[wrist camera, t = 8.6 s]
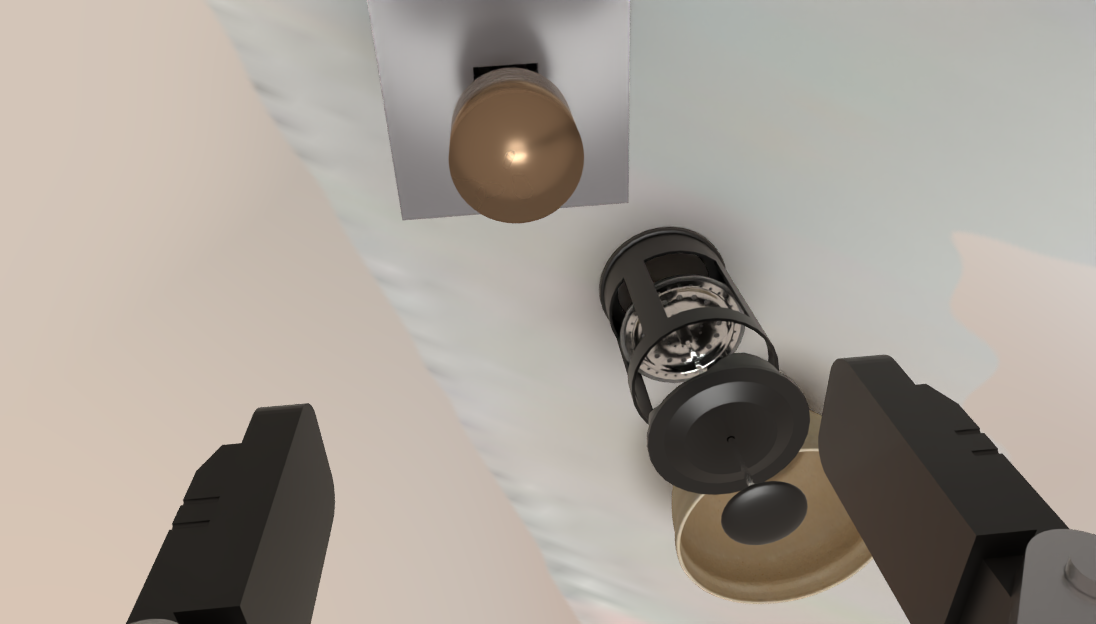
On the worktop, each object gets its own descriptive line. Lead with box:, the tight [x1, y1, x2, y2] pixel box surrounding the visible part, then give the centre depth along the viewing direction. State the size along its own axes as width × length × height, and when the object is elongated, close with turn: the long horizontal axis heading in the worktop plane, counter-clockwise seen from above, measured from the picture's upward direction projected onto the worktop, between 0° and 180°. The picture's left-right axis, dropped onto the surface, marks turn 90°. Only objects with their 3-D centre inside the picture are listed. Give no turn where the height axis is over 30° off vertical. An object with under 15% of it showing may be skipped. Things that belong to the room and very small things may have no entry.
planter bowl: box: [672, 410, 873, 604], centre depth 58 cm, size 16×16×11 cm
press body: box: [367, 0, 630, 220], centre depth 36 cm, size 9×9×19 cm
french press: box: [599, 227, 810, 545], centre depth 45 cm, size 12×9×23 cm
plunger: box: [448, 63, 584, 223], centre depth 32 cm, size 6×6×24 cm
